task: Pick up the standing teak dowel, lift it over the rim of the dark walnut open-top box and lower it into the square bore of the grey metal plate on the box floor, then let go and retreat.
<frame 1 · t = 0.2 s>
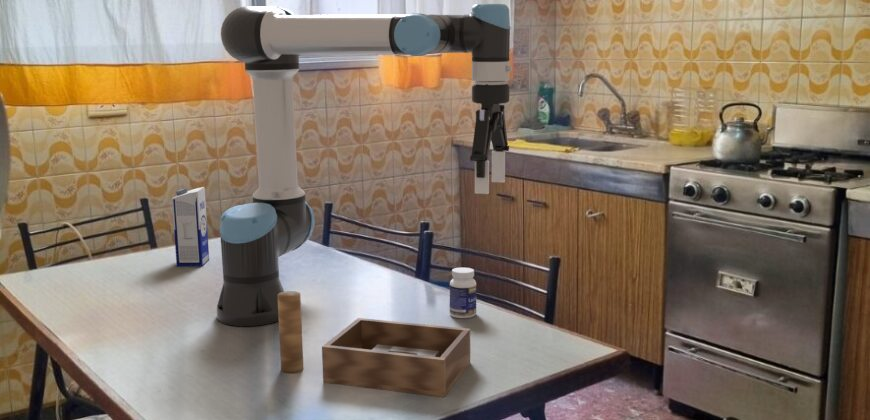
hand: (490, 187, 181), 28 cm above the table, fingers open, 13 cm apart
pill bottle: (463, 315, 189), on the table
box: (398, 372, 158), on the table
dowel: (292, 368, 160), on the table
milk carton: (193, 263, 233), on the table
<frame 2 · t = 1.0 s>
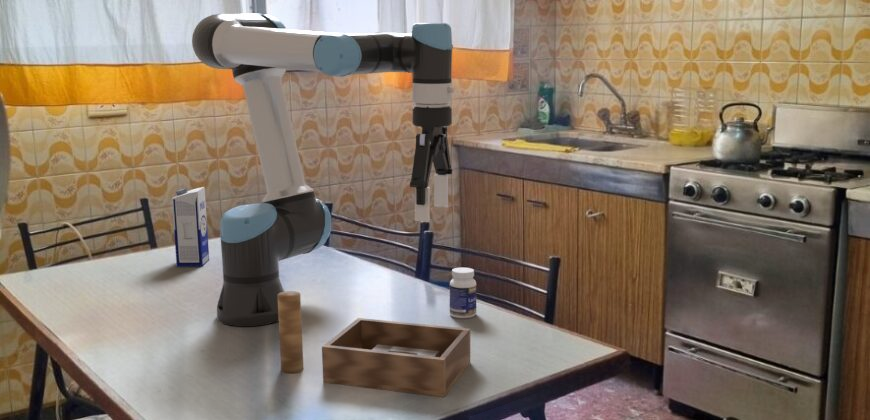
hand: (431, 213, 174), 24 cm above the table, fingers open, 13 cm apart
nothing on the table moved.
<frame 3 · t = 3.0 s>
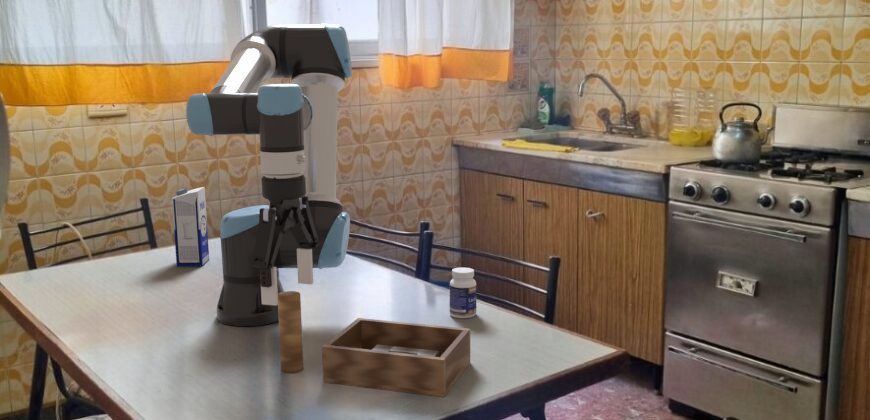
hand: (288, 293, 157), 14 cm above the table, fingers open, 13 cm apart
nothing on the table moved.
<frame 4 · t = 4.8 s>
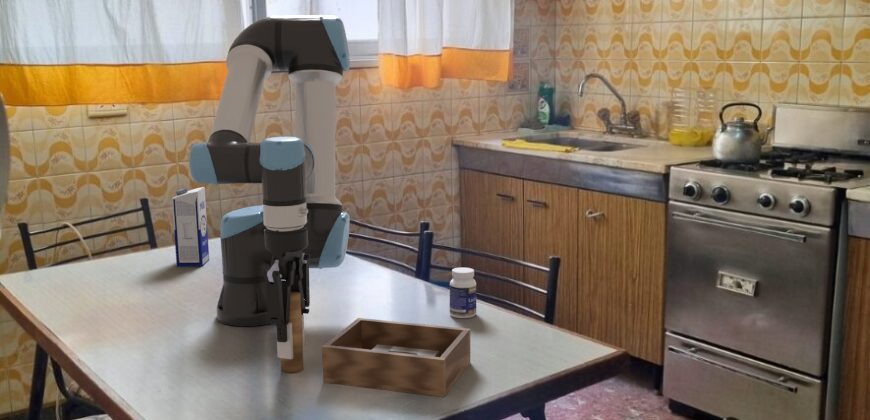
hand: (291, 352, 159), 3 cm above the table, fingers closed on dowel, 4 cm apart
dowel: (292, 368, 160), on the table, touching gripper
everything else where it was.
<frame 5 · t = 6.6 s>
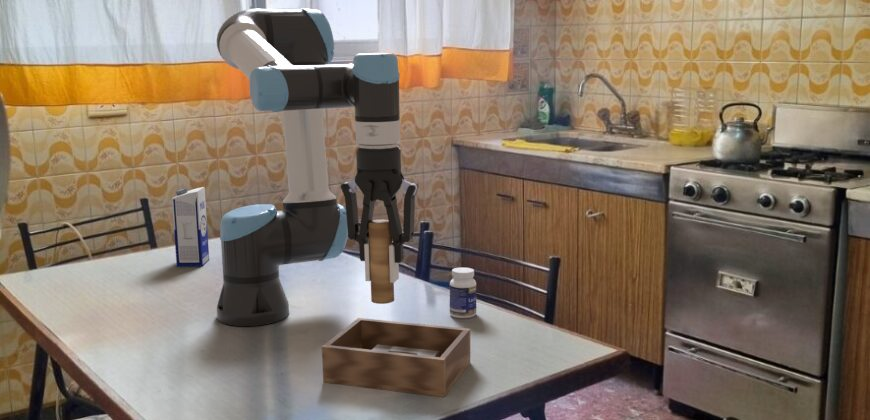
hand: (382, 279, 154), 17 cm above the table, fingers closed on dowel, 4 cm apart
dowel: (382, 300, 155), point 14 cm above the table, touching gripper
everything else where it was.
when the fingers open (5 cm above the table, at t = 8.6 s): dowel stays where it is, resting on box.
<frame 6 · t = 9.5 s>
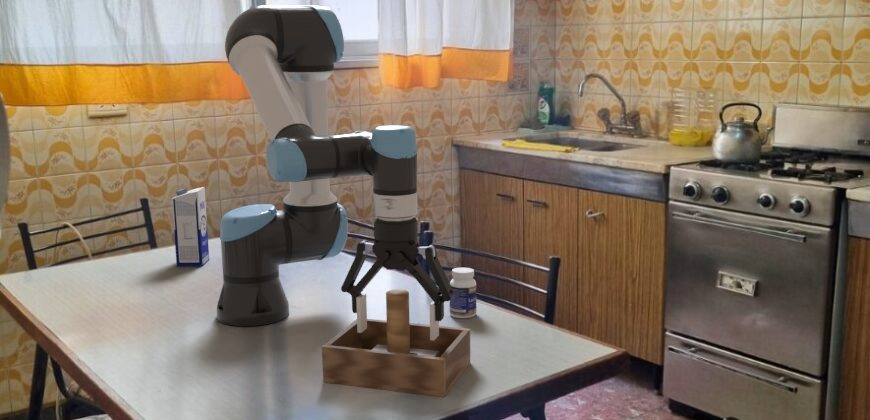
hand: (397, 334, 156), 7 cm above the table, fingers open, 13 cm apart
dowel: (399, 368, 157), point 1 cm above the table, touching box
everything else where it was.
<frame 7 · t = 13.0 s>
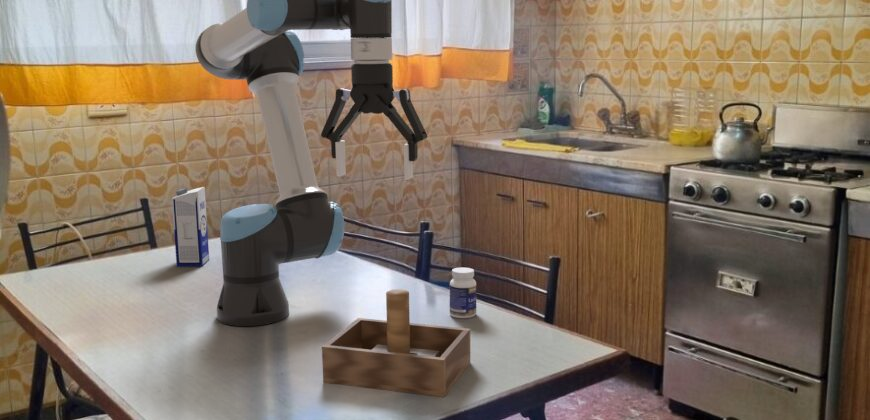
hand: (374, 177, 166), 33 cm above the table, fingers open, 13 cm apart
nothing on the table moved.
at the end: dowel 0.1 cm off-centre on the box, point 0.8 cm above the box's base; dowel tilted 0°; the gripper is holding nothing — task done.
